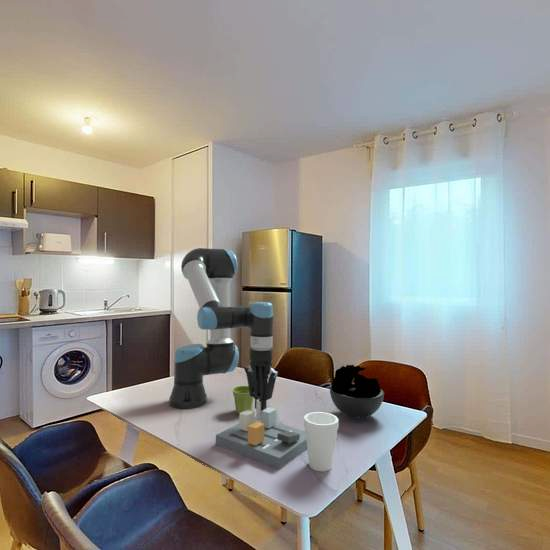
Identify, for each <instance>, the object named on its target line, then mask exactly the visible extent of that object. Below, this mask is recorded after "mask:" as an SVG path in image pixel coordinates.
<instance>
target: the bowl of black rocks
mask: <svg viewBox="0 0 550 550" xmlns="http://www.w3.org/2000/svg"><path fill="white" fill-rule="evenodd" d="M365 370H366V367H361V366H360V365H356V366H355V364H346V365H345V366H344V365H342V366H340V368H338V369H336V370H335V373H334V377H333V379H332V382H331V386H330V388H329V394H330V398H331V401H332V402H333V404H334V406H335V407H336V409H337V410H338V411H340V413H342V414H343V415H345V416H347V417H349V418H352V419H366V418H368V417H370V416H372V415H374V414H375V413H376V412H377V411H378V410H379V409H380V407H381V406H382V403H383V401H384V396H385V392H384V390H382V389H381V386H380V383H379V381H378V378H367V377H366V376H365V375H363V374H360V372H362V371H365Z"/></svg>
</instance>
